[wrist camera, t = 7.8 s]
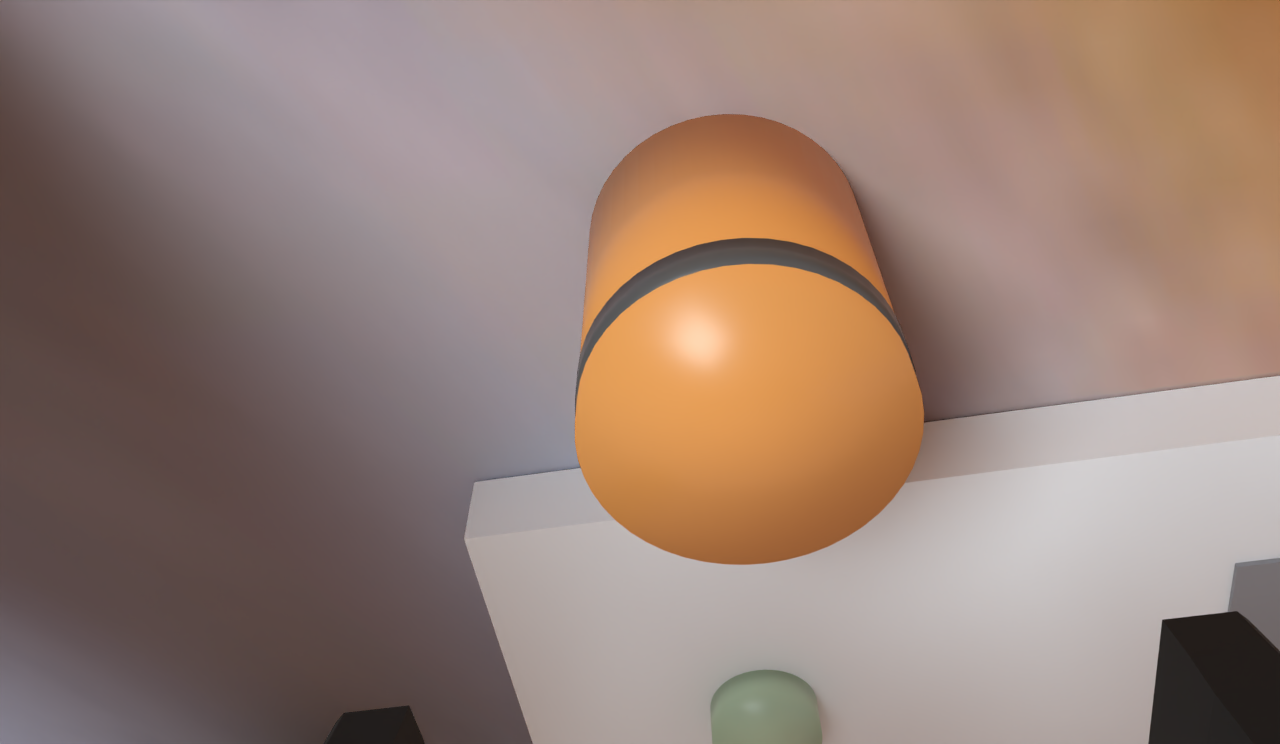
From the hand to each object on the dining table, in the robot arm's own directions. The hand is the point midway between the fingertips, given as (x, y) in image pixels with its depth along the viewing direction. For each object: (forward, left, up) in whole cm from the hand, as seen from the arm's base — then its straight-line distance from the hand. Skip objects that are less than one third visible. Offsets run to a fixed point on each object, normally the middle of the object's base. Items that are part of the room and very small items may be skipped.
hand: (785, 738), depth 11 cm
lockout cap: (0, 0, -10) cm, 10 cm away
